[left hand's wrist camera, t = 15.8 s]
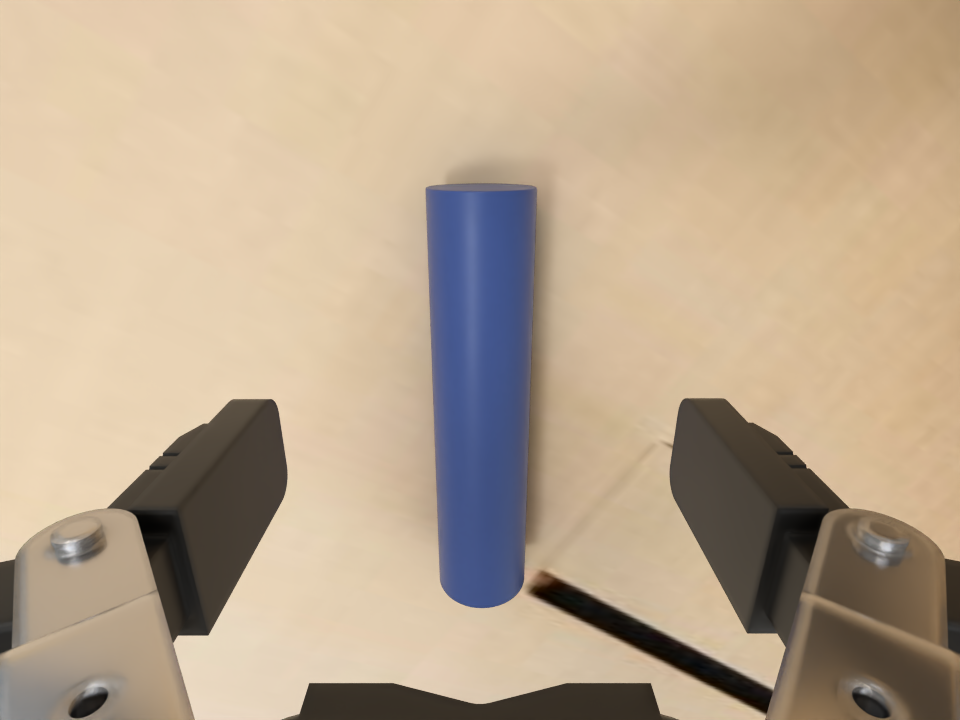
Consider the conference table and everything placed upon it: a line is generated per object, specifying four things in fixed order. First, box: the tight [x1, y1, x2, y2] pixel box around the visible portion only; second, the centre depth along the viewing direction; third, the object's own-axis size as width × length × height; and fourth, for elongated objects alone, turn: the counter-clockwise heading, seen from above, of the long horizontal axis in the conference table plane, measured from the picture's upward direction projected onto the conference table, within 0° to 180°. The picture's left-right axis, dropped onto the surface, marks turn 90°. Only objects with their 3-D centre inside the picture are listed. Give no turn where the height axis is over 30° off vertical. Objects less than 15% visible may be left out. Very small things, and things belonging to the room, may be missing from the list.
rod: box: [426, 184, 537, 608], centre depth 33 cm, size 25×6×6 cm, turn 0°
